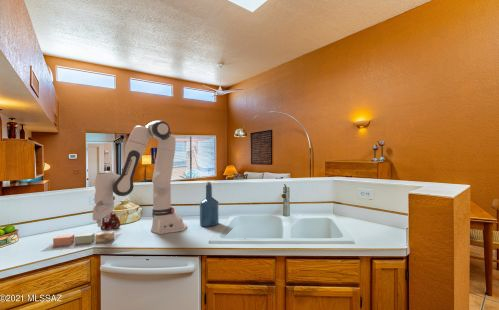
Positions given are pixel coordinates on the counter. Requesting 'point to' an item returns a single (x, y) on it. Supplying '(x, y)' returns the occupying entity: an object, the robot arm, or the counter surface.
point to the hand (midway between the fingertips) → (103, 223)
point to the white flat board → (81, 244)
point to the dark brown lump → (111, 222)
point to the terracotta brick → (63, 240)
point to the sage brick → (84, 238)
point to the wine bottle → (209, 209)
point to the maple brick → (104, 236)
